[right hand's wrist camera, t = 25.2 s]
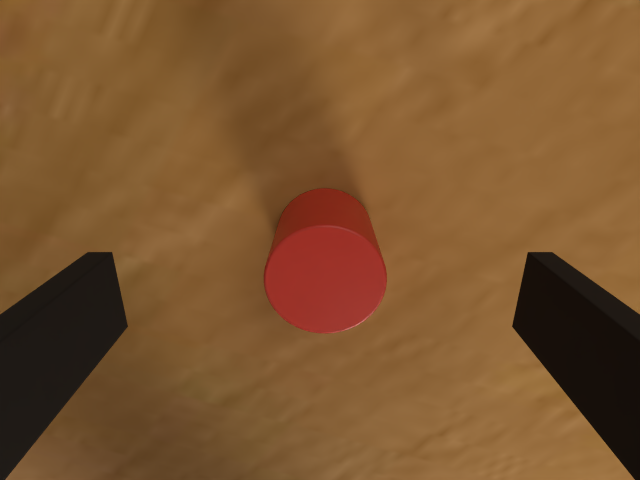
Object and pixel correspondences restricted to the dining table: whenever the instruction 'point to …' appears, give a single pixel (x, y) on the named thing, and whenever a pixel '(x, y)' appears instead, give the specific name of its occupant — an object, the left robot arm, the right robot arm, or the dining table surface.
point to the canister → (325, 263)
